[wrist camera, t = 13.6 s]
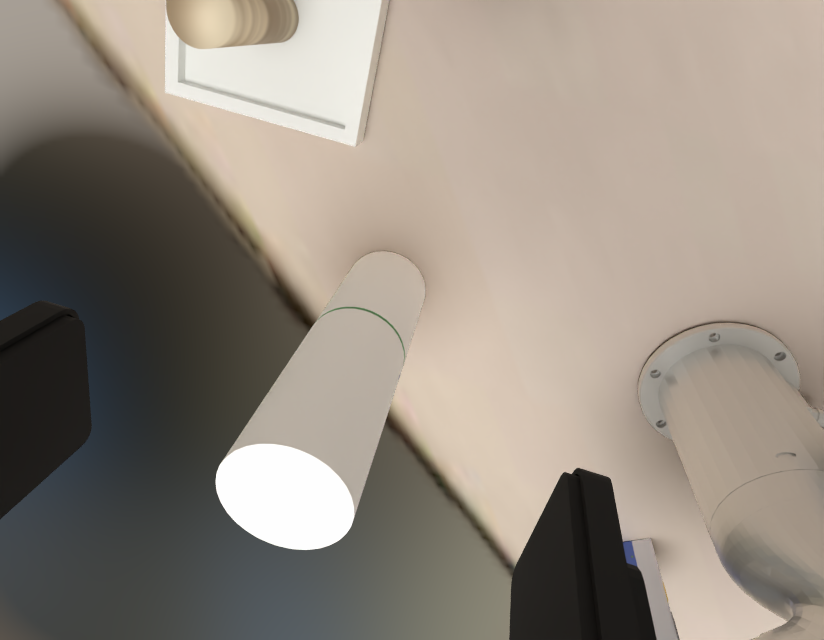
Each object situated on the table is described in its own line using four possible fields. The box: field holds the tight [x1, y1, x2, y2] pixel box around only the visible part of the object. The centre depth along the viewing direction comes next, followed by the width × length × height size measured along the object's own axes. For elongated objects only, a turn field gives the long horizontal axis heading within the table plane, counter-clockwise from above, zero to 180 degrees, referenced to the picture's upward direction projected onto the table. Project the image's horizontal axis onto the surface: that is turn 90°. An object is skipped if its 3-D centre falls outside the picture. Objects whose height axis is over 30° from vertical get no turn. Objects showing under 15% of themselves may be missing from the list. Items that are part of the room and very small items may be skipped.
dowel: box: [166, 0, 299, 49], centre depth 34 cm, size 3×3×11 cm
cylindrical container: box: [216, 251, 426, 550], centre depth 38 cm, size 7×7×25 cm
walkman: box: [623, 538, 679, 640], centre depth 54 cm, size 8×3×12 cm, turn 112°
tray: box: [165, 0, 390, 147], centre depth 39 cm, size 15×14×2 cm
